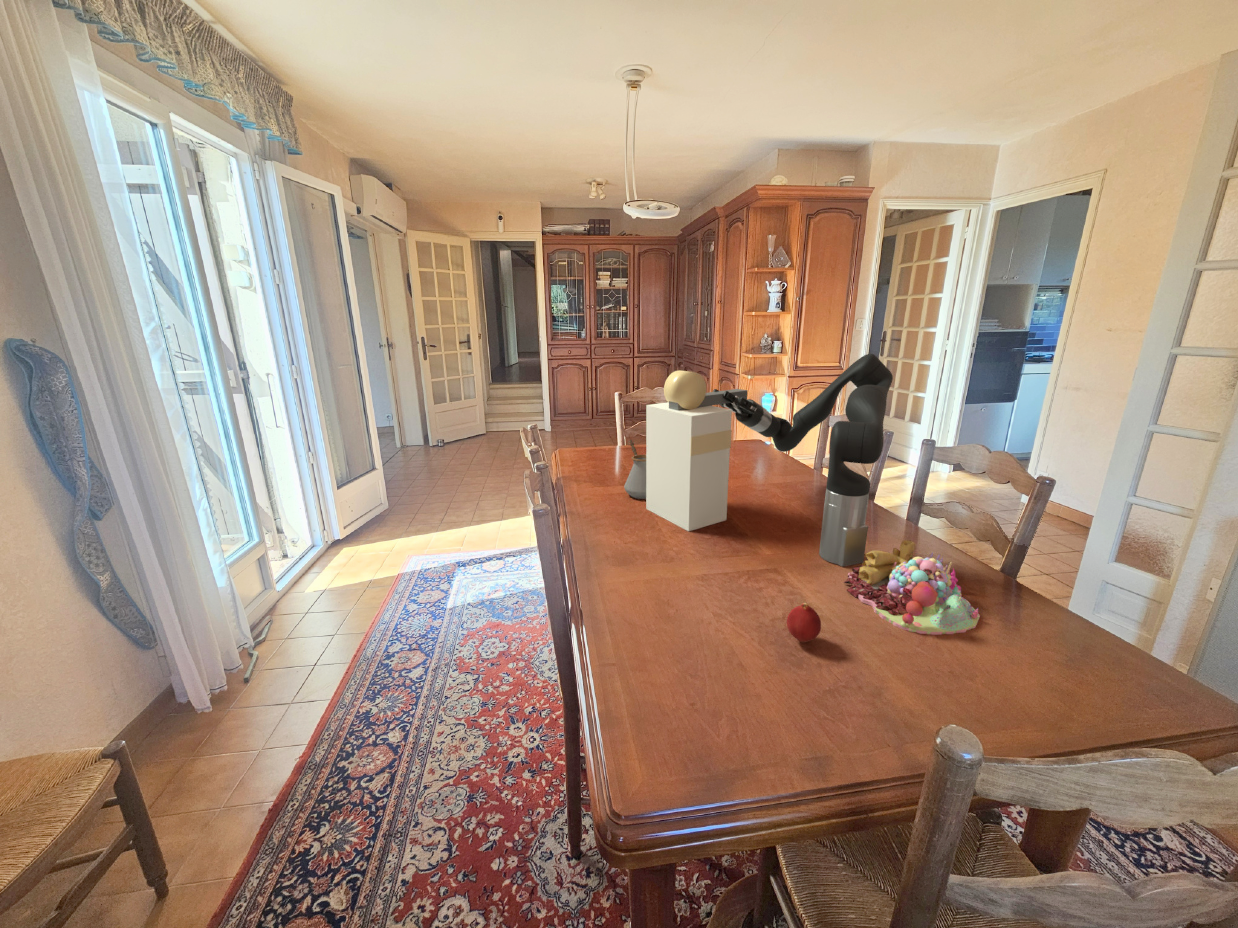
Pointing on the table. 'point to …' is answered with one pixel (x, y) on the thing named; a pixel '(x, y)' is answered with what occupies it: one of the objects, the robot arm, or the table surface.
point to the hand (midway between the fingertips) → (719, 393)
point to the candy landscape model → (912, 592)
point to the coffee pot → (637, 476)
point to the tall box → (688, 464)
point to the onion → (803, 623)
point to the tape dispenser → (693, 391)
